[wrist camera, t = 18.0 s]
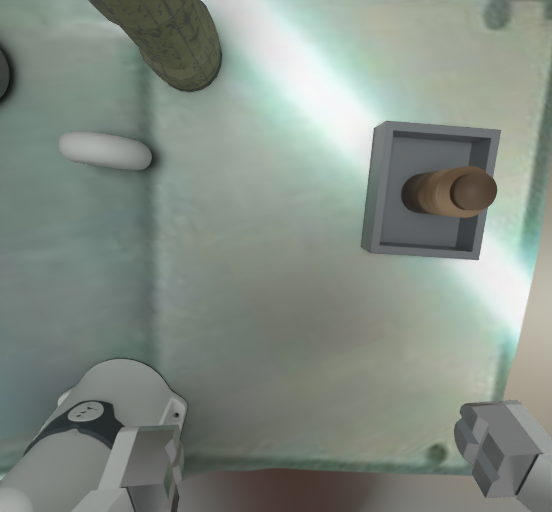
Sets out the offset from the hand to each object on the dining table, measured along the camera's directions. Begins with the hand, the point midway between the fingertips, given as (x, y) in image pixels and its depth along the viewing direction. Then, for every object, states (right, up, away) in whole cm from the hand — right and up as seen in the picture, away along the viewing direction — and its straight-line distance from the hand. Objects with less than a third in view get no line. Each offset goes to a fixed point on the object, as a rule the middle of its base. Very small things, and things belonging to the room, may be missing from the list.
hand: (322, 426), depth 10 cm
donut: (-22, +18, +37) cm, 47 cm away
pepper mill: (+18, +13, +38) cm, 44 cm away
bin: (+18, +14, +39) cm, 45 cm away
